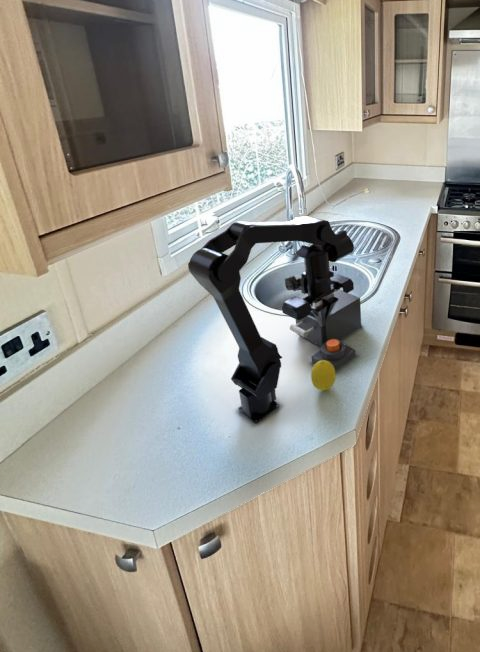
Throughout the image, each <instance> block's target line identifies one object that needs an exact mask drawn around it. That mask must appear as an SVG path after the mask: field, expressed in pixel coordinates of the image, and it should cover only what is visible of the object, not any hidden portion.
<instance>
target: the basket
mask: <svg viewBox="0 0 480 652" xmlns="http://www.w3.org/2000/svg"><path fill="white" fill-rule="evenodd" d="M289 330H290V331H291V332H293V333H295V334H296V335H298V336H301V338H304V339H305V340H308V341H309V342H311V343H313V344H315V345H317V346H319V347H320V348H321V347H322V344H324V343H325V330H324V326H323V327H322V326H320V325H319V323H318V321H317V319H316V318H315V316H314V315H312V314H310V315H308V316H306V317H305V318H303V319H301V320H296V319H295V324H291V325H290V326H289Z"/></svg>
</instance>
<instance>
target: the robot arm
mask: <svg viewBox="0 0 480 652" xmlns="http://www.w3.org/2000/svg"><path fill="white" fill-rule="evenodd" d="M283 242H302V243H306V244H309V245H305V244H301V246H300V248H299V249H297V250H296V253H295V256H296V257H298V258H299V257H300V258H303V261H304V271H303V272H302V273H299V274H297V275H290V276H288V277H285V278H284V286H285V289H286V290H287V291H293V292H296V291H300V292H301V294H304V295H307V296H305V297H303V298H302V297H299V296H296V295H295V296H293V297H291V298H289V299H287V300H285V301H284V302H283V303H282V304H281V311H282V314H284V315H286V316H288V317H290V318H292V319H294V320H295V321H296V320H301V319H303V318H305V317H306V316H308V315H310V313H311V311H312V312H313V314H314V316H315V318H316V319H317V321H318V323H319V325H320V326H322V327H323V326H325V324H326V322H327V320H328V318H329V315H330V313H331V311H332V309H333V307H334V306H335V304H336V302H337V301H338V298H336V297H334V292H336V291H338V290H341V288H342V291H343V292H345V293H350V292H352V291H354V290H355V285H354V284H355V283H354V281H353V279H352V278H350V277H347V276H345V275H341V274H336V275H335V273H334V271H331V269H330V263H336V262H338V261H341V260H342V259H344V258H346V257H348V256H350V255H352V254H353V252H354V250H355V244H354V243H353V241H352V239H351V237H350V236H349V235H348V231H347V230H345V229H338V230H337V231H334V230H333V229H332V226H331V224H330V221H329V220H326V219H323V218H318V217H313V216H310V215H304V216H299V217H295V218H294V219H292V220H289V221H242V220H237V221H234V222H233V223H231V224H230V225H229V226H228V228H227V229H226V230H224V231H222V232H221V233H219V234H217V235H215V236H214V237H212V238H210V239H209V240H208V241H207V242H206V243H205V244H204V245H203V246H202V247H201V248H200V249H198V250H196V251H195V252H193V254H192V256H191V257H190V259H189V262H188V263H187V268H188V271H189V272H190V274H191V275H192V277H193V278H194V279H195V280H196V281H197V283H198V284H199V285H200V286H201V287H202V288H203V289H204V290H205V291H207V292H208V293H209V294H210V295H211V297H212V298H213V300H214V302H215V303H216V305H217V307H218V309H219V311H220V313H221V315H222V317H223V318H224V321H225V323H226V325H227V327H228V329H229V330H230V333H231V334H232V336H233V338H234V340H235V342H236V344H237V346H238V352H237V359H238V365H237V367H236V368H235V371H234V372H233V374H232V375H231V378H230V380H231V382H232V383H233V384H234V385H235V386H238V387H239V388H240V389H239V390H238V394H239V399H240V406H239V407H238V412H240V413H241V414H242V415H243V416H245V417H246V418H247V419H248V420H249V421H251V423H253V424H258V423H259V422H261V421H262V420H263V419H265V418H266V417H268V416H269V415H271V414H272V413H274V412H275V411H276V410H277V409H279V408H280V403H279V402H278V401H276V400H277V395H276V389H277V388H278V383H279V377H280V371H281V368H282V360H281V359H283V356H282V355H281V354H280V353H279V349H278V346H277V344H276V343H274V342H272V341H271V340H268V339H266V338H264V337H262V336H261V334H260V332H259V330H258V328H257V325H256V322H255V321H254V319H253V317H252V314H251V313H250V310H249V309H248V308H249V307H248V306H247V304H246V302H245V300H244V297H243V295H242V293H241V291H240V285H241V281H242V280H241V279H242V277H241V273H240V271H241V269H242V268H243V267H245V265H246V264H247V262H248V260H249V257H250V254H251V252H252V248H254V246H255V245H256V244H269V243H283ZM233 247H234V248H233ZM231 248H233V250H232V251H231V252H230V253H229V254H226V253H225V252H226V251H228V250H230V249H231Z"/></svg>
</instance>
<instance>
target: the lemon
mask: <svg viewBox="0 0 480 652" xmlns="http://www.w3.org/2000/svg"><path fill="white" fill-rule="evenodd" d="M311 368H312V369H311V373H310V378H311V383H312V385H313V387H315V389H317V390H319V391H328V390H330V389H331V388H332V387H333V386H334V384H335V382H336V377H337V376H336V371H335V369H334V367H333V365H332V364H331V363H330V362H329V361H326V360H321V361H318V362H317V363H316V364H315V365H314V364H313V366H312V367H311Z"/></svg>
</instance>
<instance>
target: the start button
mask: <svg viewBox="0 0 480 652" xmlns="http://www.w3.org/2000/svg"><path fill="white" fill-rule="evenodd" d="M339 348H340V346H339V341H338V340H337V339H331V340H328V341H327V350H328V351H329V352H334V351H338V350H339Z"/></svg>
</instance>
